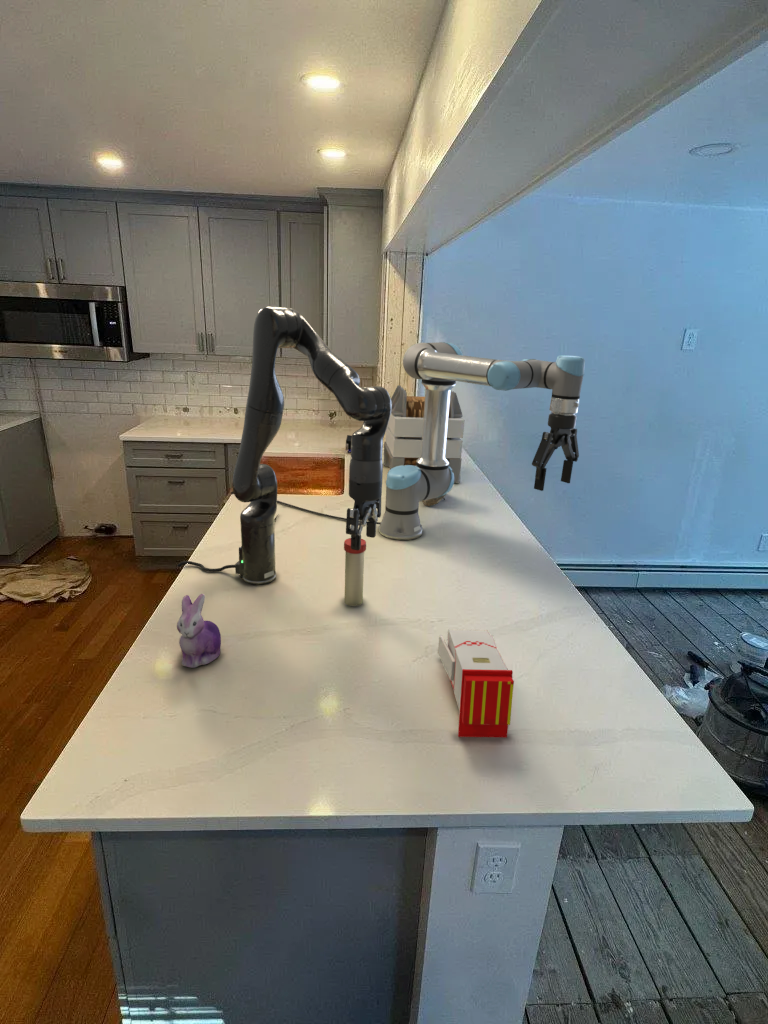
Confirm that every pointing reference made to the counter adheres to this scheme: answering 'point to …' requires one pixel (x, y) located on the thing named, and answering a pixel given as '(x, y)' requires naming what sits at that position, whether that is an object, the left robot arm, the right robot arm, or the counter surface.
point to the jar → (354, 578)
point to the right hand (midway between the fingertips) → (552, 485)
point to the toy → (478, 682)
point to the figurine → (197, 634)
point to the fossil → (433, 500)
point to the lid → (348, 549)
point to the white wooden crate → (419, 432)
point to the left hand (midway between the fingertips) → (363, 542)
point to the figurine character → (348, 443)
